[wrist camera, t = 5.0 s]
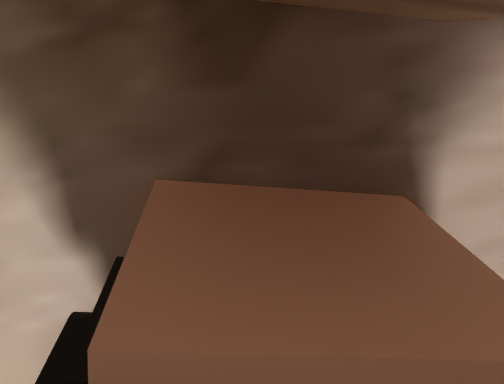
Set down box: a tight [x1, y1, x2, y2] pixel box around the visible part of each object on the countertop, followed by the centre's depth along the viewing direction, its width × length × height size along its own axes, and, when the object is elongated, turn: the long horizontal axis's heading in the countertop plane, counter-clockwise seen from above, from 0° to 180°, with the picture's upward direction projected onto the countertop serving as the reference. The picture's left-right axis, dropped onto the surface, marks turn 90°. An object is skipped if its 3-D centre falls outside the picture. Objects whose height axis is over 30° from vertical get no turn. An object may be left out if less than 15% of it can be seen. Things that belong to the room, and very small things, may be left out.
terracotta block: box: [87, 179, 504, 384], centre depth 9 cm, size 6×6×6 cm
